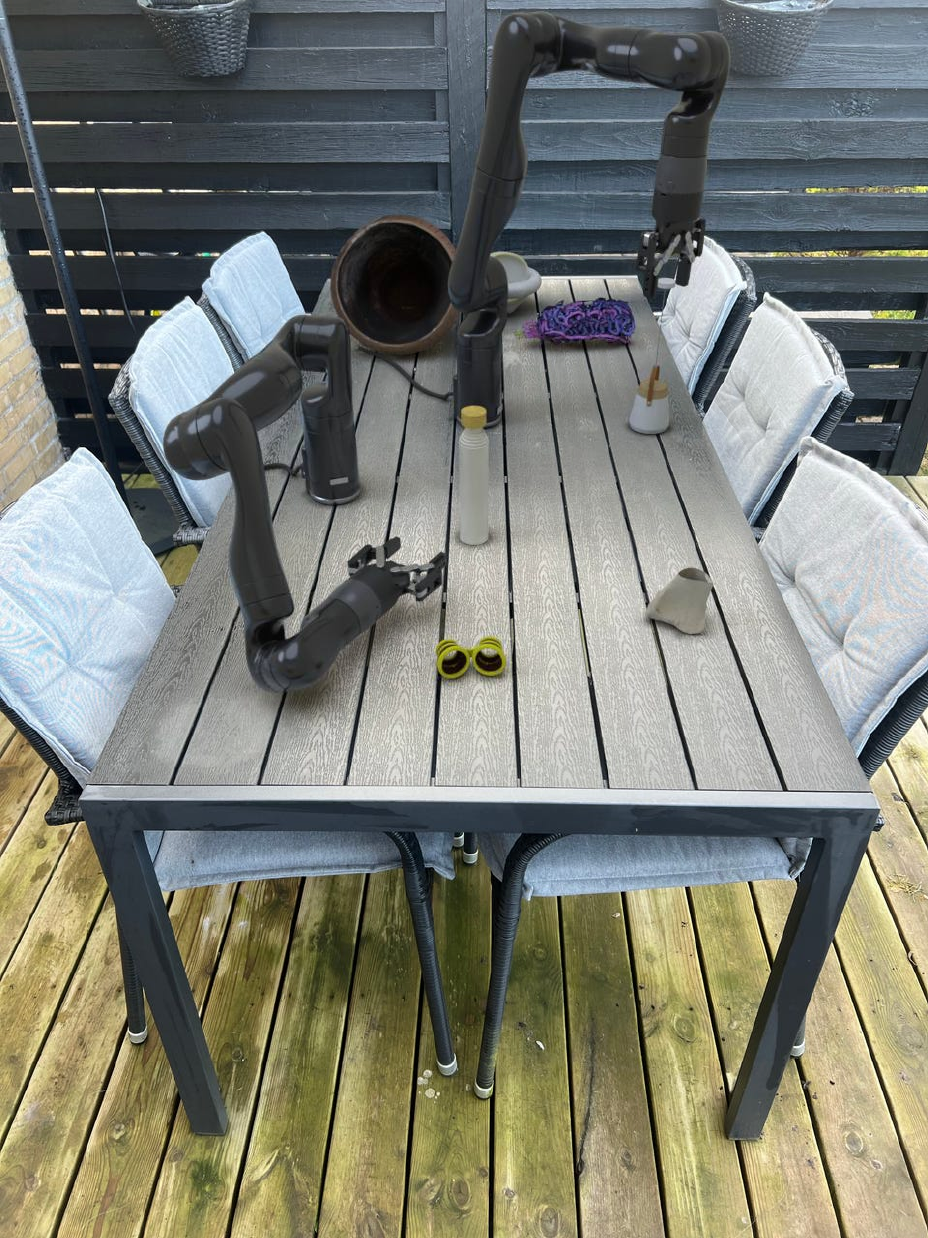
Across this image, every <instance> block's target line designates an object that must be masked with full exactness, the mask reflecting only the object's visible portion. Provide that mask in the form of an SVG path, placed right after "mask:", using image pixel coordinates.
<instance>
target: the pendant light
mask: <svg viewBox="0 0 928 1238" xmlns="http://www.w3.org/2000/svg"><path fill="white" fill-rule="evenodd" d="M675 280H676V279H675V278H674V279H673V278H671V277H659V279H658V287H657V288H660V289H663V290H664V293H663V301H662V309H661V318H660V326H659V333H658V334H659V335H658V342H657V350H656V358H655V364H654V365H653V367H652V370H651V372H650V377H649V379H646V380H643V381H641V382H639V383H640V384H639V386H638V389H637V391H636V395H635V399H634V402H633V406H632V410H631V412H630V417H629V419H628V421H629V426H630V428H631V429H632V430H633V431H635V432H637V433H641V434H644V435H657V434H662V433H664V432H666V430H668V428H669V425H670V413H669V412H670V410H669V409H670V408H669V389H668V385H667V383H665V382H664V381H661V380H660V371H661V368H660V365H658V364H657V363H658V355H659V348H660V339H661V331H662V323H663V313H664V307H665V300H666V299H665V298H666V290H668V289H669V290H671V289H674V288H675V287H676V285H677V284H676V283H675Z"/></svg>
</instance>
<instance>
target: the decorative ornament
mask: <svg viewBox="0 0 928 1238" xmlns="http://www.w3.org/2000/svg"><path fill="white" fill-rule="evenodd" d="M587 302H589V300H576V301H572V302H571V303H568V304H566V305H564V303H565V299H562V300H560V301H558V302H557V303H556V304H555V305H547V306H546V307H544V308H543V309H542V310H541V311H540V316H538V318H537V319H536V321H534V316H533V315H532V316H531V317H530V318H529V320H527V322H524V323H522V326H521V328H519V329H518V330H517V331H514V332H513V335H514V337H515V339H518V341H520V339H523V340H524V341H526V340H527V339H530V342H532V341H534V340H537V341H539V340H540V343H539V345H543V343H544V342H549V343H550V344H553V345H560V344H563V343H564V344H570V343H571V342H575V343H577V344H578V345H580V343H581V342H582V341H591V342H592V341H593V340H604V341H605V344H606V345H611V344H623V345H627V344H630V343H631V342H630V341H631V339H632V335H633V334H635V330H636V323H635V322H636V321H635V316H634V315H633V312H632V308H631V307H630V306H629V304H628V303H629V301H625V300H622V299H617V300H616V299H615V298H611V297H610V298H608V299H607V298H606V297H601V296H600V297H598V298H595V299H594V300H593V299H592V300H590V302H591V304H587Z"/></svg>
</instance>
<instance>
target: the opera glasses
mask: <svg viewBox="0 0 928 1238" xmlns="http://www.w3.org/2000/svg"><path fill="white" fill-rule="evenodd" d="M486 649H487V650H488V649H489V650H492V651H494V652H495V654H491V655H489V654H486V653H484V651H483V650H486ZM452 652H455V653H454V654H453V655H452V656H451V657H448V658H445V657H446V656H447V655H448V654H450V653H452ZM435 655H436V659H437V660H436V661H437V663H436V667H437V671H438V673H439V674H440V675H441V676H442V677H443V678H446V679H456V678H458V677H461V676H462V675H463V674H464V673H465V672H466V671H467V670H468V668H469V666H470V664H471V663H470V661H472V666H473V667H474V668H475V670H476V671H477V672H478V673H480V674H482V675H485V676H487V677H489V676H490V677H492V676H494V677H495V676H498V675H499V674H501V673H502V672H503V671H504V670H505V668H506V665H507V657H506V655H505V652H504V650H503V644H502V642H501V641H500V639H498V637H495V636H491V635H488V636H485V637H483V638H481V639H480V640H479V642H478V645H476V646H475V647H472V648H465V647H463V646H461V645H459V644H458V642H457V641H456V640H454V639H452V638H446V639H442V640H440V642H439V643H438V644H437V645H436V647H435Z"/></svg>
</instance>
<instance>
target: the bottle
mask: <svg viewBox="0 0 928 1238" xmlns="http://www.w3.org/2000/svg"><path fill="white" fill-rule="evenodd" d="M458 484H459V485H458V487H459V489H458V490H459V492H458V494H459V539H460V541H461V542H462V543H464V544H466V545H469V546H478V545H483V544H484V543H486V542H487V541H488V540H489V521H490V520H489V515H490V514H489V513H490V512H489V511H490V510H489V509H490V503H489V502H490V501H489V499H490V498H489V497H490V494H489V493H490V440H489V437H488V434H487V432H486V431H485V428H483V427H482V428H479V429H469V428H466V427H464V429H463V431H462V433H461V434H460V436H459V439H458Z"/></svg>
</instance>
